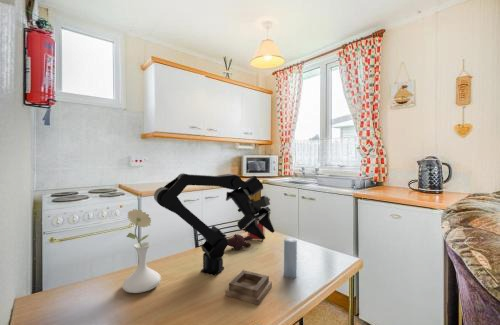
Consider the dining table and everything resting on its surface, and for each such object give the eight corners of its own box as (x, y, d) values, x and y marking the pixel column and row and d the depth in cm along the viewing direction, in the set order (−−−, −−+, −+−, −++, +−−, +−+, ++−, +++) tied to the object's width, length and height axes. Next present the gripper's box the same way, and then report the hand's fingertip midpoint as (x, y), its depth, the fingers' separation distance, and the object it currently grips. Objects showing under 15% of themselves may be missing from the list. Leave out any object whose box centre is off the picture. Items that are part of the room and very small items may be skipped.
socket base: (225, 295, 72) (225, 283, 72) (241, 278, 82) (241, 268, 82) (258, 304, 68) (258, 292, 68) (271, 286, 78) (271, 275, 77)
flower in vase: (168, 283, 79) (168, 208, 78) (137, 301, 69) (136, 216, 68) (143, 273, 85) (143, 204, 85) (111, 288, 76) (111, 210, 75)
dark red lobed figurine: (222, 239, 102) (255, 239, 107) (220, 230, 109) (250, 230, 114) (220, 253, 104) (252, 253, 108) (218, 243, 111) (248, 243, 115)
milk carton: (264, 235, 128) (265, 198, 128) (264, 241, 119) (264, 201, 119) (248, 234, 129) (248, 197, 129) (246, 240, 120) (246, 201, 120)
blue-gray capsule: (282, 276, 84) (282, 241, 83) (285, 271, 88) (286, 237, 87) (294, 279, 82) (294, 243, 81) (297, 273, 86) (298, 239, 85)
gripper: (246, 191, 81) (275, 228, 76) (266, 186, 98) (292, 216, 93) (225, 211, 85) (252, 248, 80) (249, 203, 101) (272, 233, 97)
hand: (269, 235), depth 87 cm, fingers open, 9 cm apart
